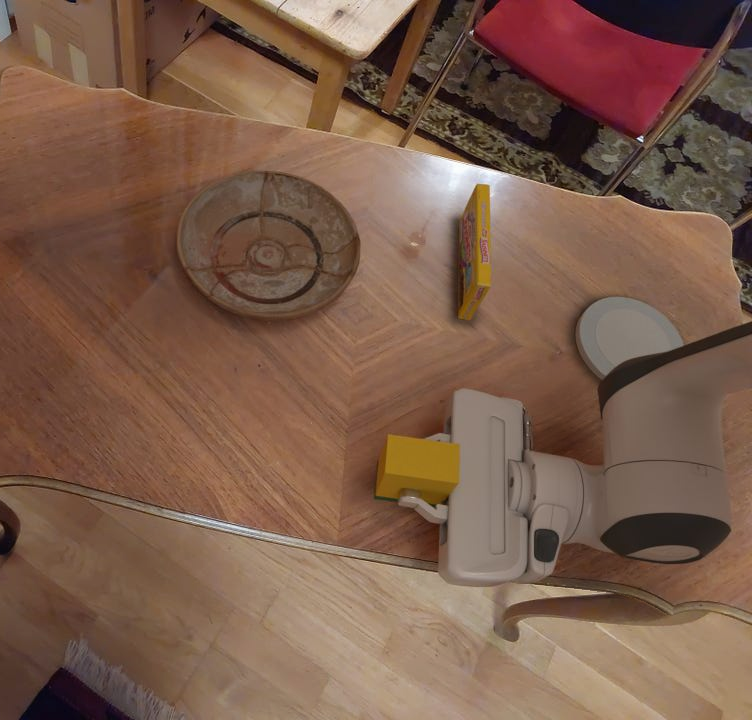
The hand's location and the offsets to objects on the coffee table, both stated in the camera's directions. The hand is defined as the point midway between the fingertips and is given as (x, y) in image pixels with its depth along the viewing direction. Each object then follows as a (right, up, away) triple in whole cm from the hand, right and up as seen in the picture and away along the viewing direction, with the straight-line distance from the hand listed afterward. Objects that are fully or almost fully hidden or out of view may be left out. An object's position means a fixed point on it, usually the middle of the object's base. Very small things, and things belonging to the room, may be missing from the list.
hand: (401, 471), depth 67 cm
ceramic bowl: (-14, +25, +20) cm, 35 cm away
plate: (+33, +13, +19) cm, 41 cm away
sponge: (+1, -2, +4) cm, 5 cm away
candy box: (+13, +24, +22) cm, 35 cm away
